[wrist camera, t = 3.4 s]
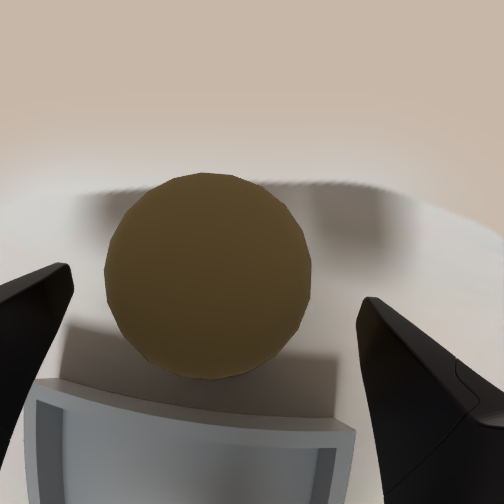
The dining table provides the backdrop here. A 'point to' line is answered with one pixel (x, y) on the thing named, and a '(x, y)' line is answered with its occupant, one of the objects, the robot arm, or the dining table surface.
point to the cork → (208, 276)
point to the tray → (175, 452)
